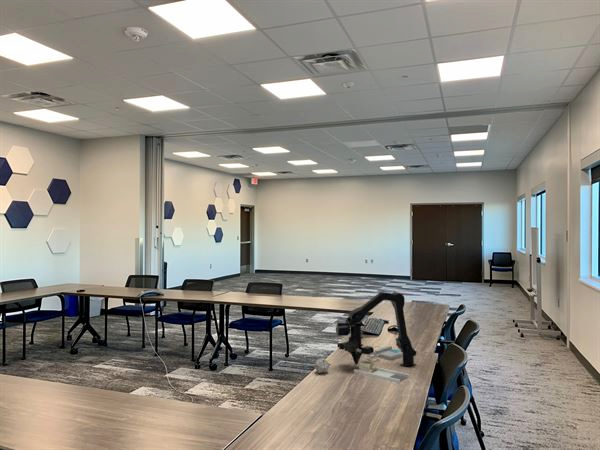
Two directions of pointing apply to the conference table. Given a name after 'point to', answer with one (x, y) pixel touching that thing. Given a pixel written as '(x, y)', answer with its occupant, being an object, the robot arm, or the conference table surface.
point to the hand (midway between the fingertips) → (356, 364)
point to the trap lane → (385, 374)
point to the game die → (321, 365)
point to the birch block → (367, 366)
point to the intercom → (387, 353)
